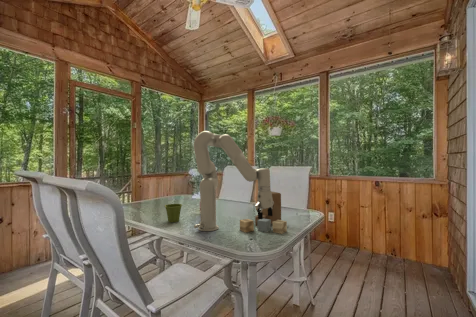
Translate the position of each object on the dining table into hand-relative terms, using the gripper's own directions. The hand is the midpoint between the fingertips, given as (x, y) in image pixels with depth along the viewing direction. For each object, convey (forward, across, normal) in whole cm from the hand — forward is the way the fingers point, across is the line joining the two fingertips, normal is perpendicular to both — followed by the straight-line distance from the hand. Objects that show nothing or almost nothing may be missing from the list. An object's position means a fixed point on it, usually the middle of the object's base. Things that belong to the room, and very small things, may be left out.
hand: (265, 217), depth 141 cm
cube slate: (+7, -1, +1) cm, 8 cm away
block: (+8, +16, +8) cm, 20 cm away
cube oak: (+7, -9, +8) cm, 14 cm away
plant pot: (+6, -27, +60) cm, 66 cm away
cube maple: (+8, +2, -8) cm, 12 cm away
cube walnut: (+7, +6, +9) cm, 13 cm away
